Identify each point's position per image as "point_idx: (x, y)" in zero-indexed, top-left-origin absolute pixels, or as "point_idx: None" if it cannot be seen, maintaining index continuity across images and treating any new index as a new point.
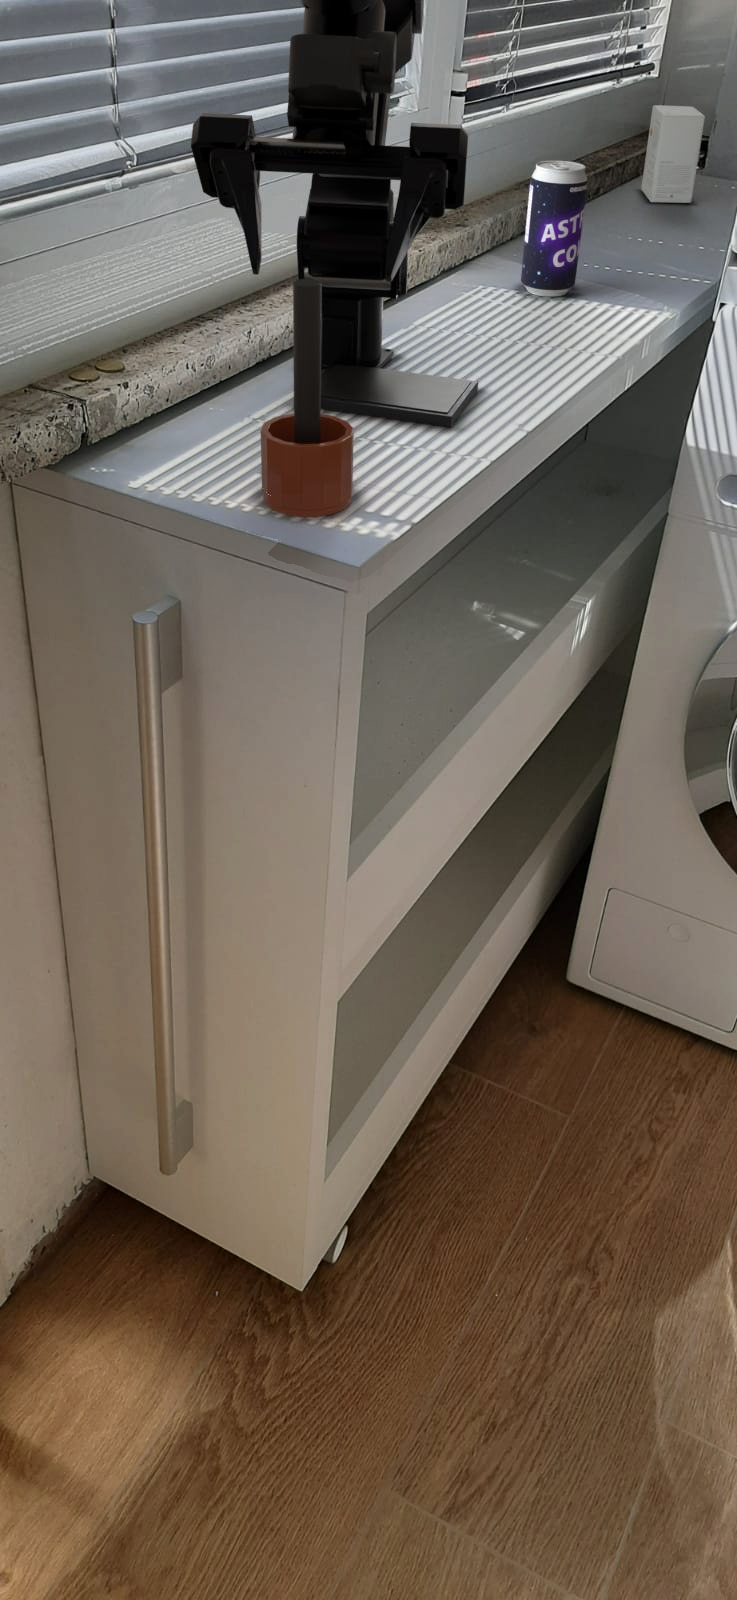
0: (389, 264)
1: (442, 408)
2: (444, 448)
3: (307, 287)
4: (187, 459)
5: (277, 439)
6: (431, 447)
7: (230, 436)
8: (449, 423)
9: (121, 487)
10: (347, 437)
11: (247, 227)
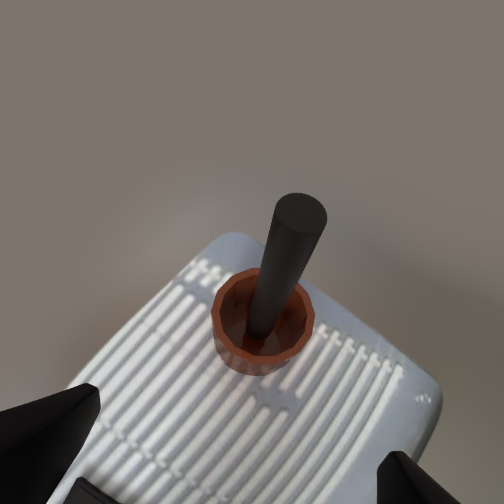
0: (82, 391)
1: (82, 497)
2: (98, 431)
3: (301, 193)
4: (362, 428)
5: (297, 287)
6: (109, 437)
7: (320, 487)
8: (81, 477)
9: (407, 365)
10: (223, 286)
11: (445, 499)
